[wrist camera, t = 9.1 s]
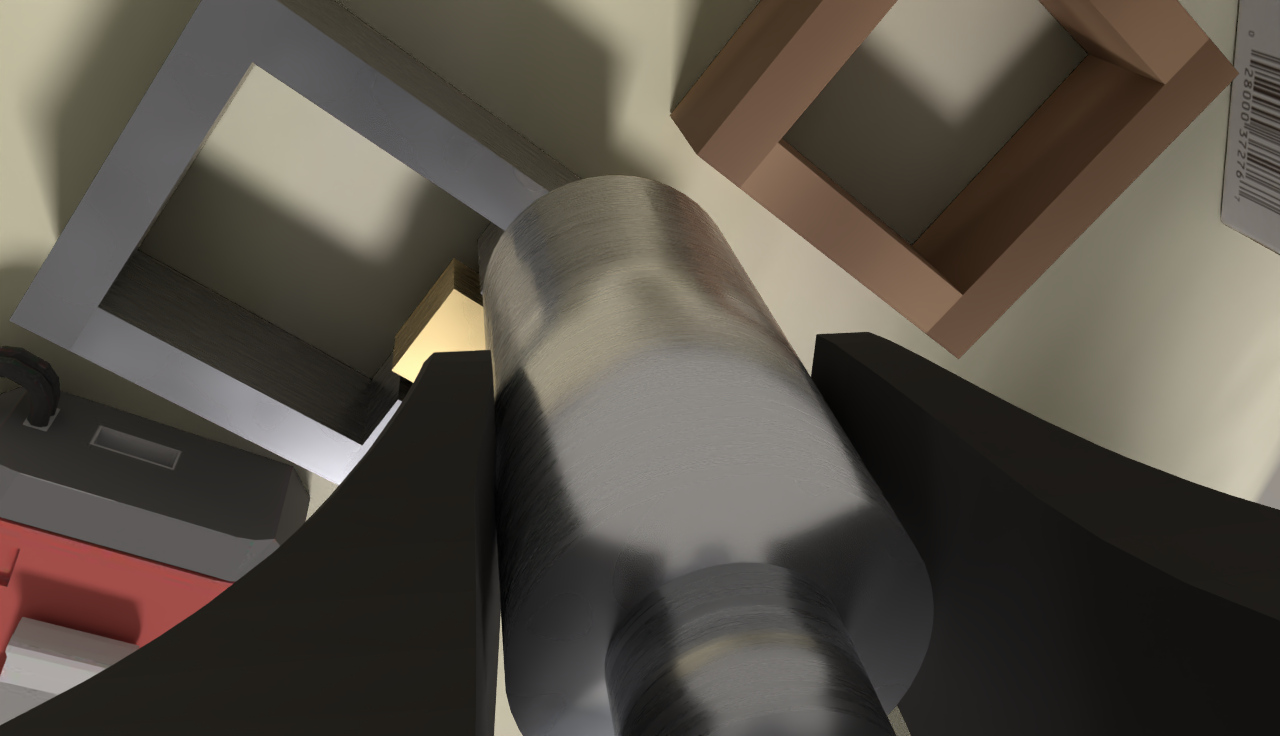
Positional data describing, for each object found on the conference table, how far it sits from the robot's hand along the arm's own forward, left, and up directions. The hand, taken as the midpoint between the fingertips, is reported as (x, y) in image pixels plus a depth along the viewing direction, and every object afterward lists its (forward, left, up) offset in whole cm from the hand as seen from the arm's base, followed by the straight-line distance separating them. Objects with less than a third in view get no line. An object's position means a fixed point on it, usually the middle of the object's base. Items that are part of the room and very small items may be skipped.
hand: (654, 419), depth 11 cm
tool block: (+3, +4, -9) cm, 11 cm away
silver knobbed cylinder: (0, 0, -3) cm, 3 cm away
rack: (-4, -5, -9) cm, 12 cm away
